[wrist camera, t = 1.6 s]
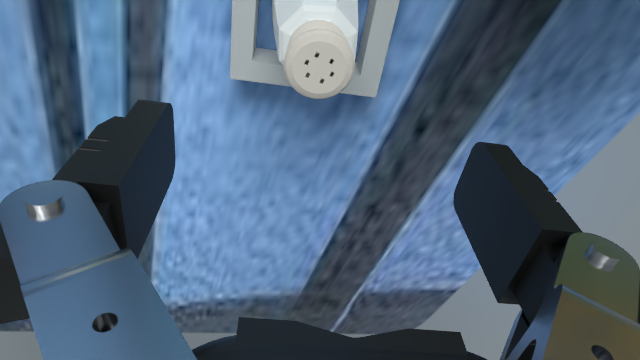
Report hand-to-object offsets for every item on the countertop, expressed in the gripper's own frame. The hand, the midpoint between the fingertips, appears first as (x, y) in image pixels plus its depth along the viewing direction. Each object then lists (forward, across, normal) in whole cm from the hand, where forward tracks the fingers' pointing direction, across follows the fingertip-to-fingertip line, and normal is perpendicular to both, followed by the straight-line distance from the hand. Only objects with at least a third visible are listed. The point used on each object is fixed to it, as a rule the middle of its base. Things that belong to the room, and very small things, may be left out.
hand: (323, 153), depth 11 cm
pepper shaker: (+18, 0, 0) cm, 18 cm away
